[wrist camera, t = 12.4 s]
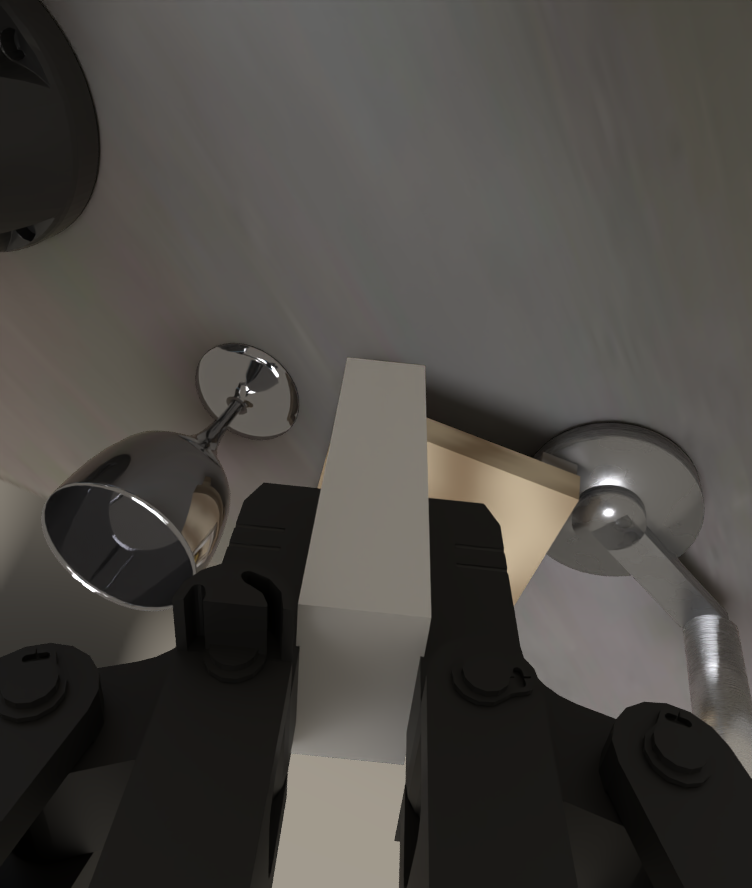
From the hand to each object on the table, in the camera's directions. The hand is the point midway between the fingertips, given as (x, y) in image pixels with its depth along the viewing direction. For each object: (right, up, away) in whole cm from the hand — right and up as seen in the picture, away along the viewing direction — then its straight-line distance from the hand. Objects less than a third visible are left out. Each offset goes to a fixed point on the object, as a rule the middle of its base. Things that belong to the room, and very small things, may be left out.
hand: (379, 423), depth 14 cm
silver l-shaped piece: (+16, -6, +28) cm, 33 cm away
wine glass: (-8, +3, +31) cm, 32 cm away
